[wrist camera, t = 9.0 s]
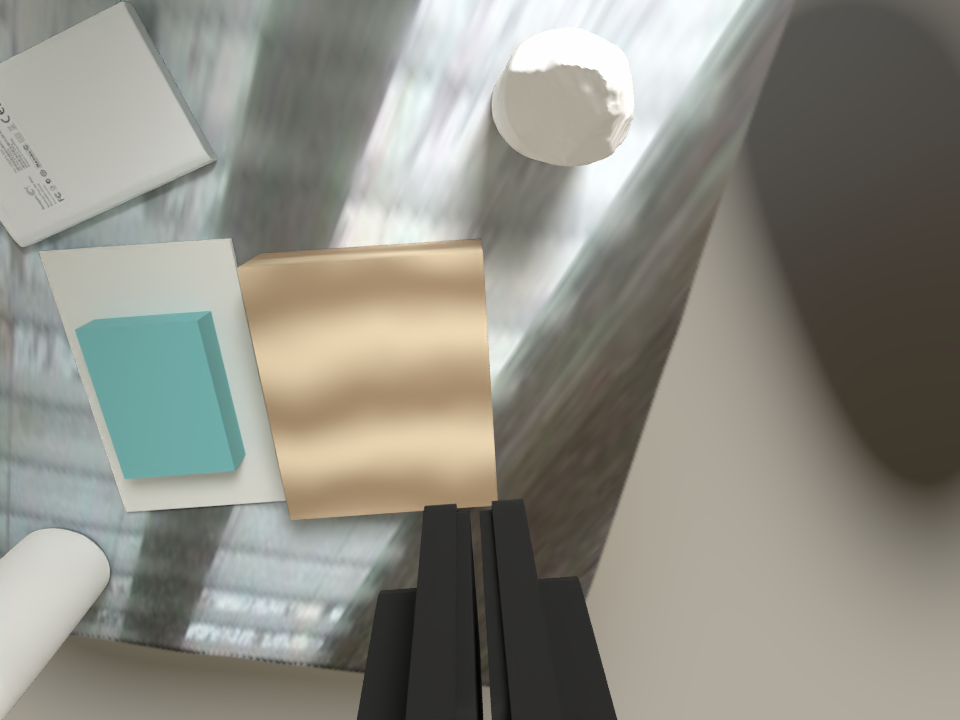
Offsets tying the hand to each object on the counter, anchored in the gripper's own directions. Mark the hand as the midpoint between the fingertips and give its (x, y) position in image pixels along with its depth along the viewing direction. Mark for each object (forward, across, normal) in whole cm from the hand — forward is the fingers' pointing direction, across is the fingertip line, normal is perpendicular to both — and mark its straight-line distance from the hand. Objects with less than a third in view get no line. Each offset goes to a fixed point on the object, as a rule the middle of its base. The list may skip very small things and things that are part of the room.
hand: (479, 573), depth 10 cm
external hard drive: (+28, +20, -8) cm, 35 cm away
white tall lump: (+27, -5, -8) cm, 29 cm away
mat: (+27, +19, +7) cm, 34 cm away
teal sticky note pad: (+25, +19, +7) cm, 32 cm away
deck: (+27, +5, +7) cm, 28 cm away
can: (+27, +30, +20) cm, 45 cm away
